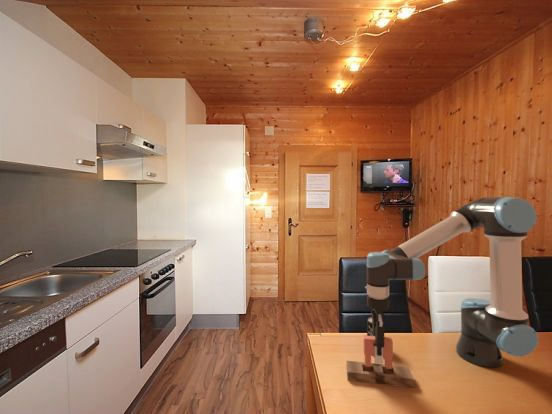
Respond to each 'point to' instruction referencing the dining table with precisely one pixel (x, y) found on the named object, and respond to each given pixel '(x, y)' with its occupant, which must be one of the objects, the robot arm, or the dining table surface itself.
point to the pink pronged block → (370, 350)
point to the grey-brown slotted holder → (379, 374)
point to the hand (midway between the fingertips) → (378, 360)
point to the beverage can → (369, 327)
